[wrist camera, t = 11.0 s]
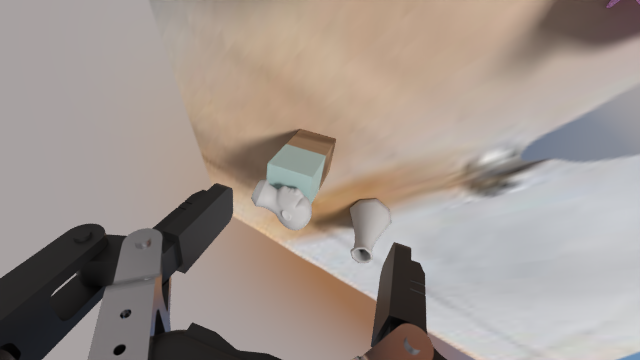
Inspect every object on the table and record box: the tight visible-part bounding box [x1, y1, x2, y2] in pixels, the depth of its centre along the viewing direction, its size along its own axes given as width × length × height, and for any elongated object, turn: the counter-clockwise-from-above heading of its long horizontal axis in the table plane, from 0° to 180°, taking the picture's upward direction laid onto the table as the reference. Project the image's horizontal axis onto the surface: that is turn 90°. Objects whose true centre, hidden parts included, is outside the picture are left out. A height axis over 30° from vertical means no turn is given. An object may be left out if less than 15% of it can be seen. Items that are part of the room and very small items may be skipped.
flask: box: [349, 199, 392, 263], centre depth 45 cm, size 7×7×10 cm
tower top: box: [267, 144, 326, 204], centre depth 39 cm, size 6×6×6 cm
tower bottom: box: [287, 129, 336, 189], centre depth 44 cm, size 6×6×6 cm
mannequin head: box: [251, 179, 312, 230], centre depth 35 cm, size 4×8×5 cm
